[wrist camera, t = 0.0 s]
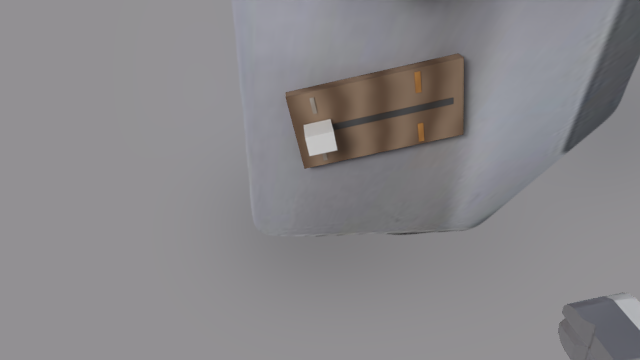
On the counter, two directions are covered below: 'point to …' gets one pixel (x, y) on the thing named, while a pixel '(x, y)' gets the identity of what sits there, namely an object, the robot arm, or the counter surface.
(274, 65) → the counter surface
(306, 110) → the fader board
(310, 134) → the fader tab
